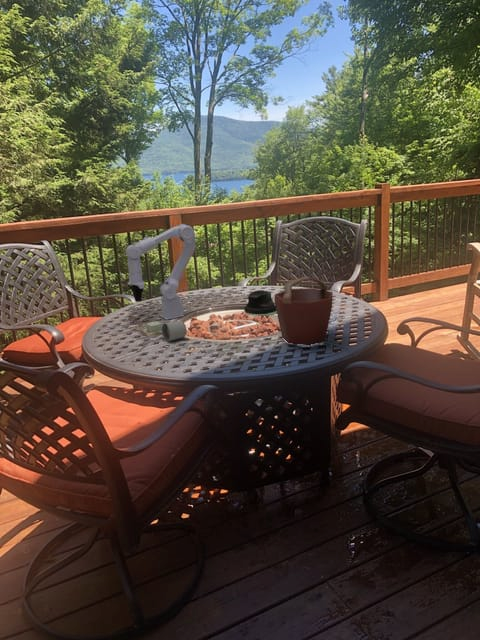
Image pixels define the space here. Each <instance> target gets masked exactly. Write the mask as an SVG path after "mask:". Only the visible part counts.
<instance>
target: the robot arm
mask: <svg viewBox="0 0 480 640" xmlns="http://www.w3.org/2000/svg"><path fill="white" fill-rule="evenodd" d="M172 238H174V239H180V240H181V242H182V245H183V248H182V249H181V252H180V254H179V256H178V258H177V260H176V262H175V264H174V266H173V268H172V270H171V272H170V274H169V276H168V277H167V278H166V280H165V282H163V283H162V284H161V285H160V288H159V292H160V293H161V295H162V296H161V297H160V298H161V312H162V314H160V315H159V316H160V318H162V319H164V320H171V319H172V320H173V319H176V318H181V317H185V315H184V304H183V299H182V297H180V296H177V294H178V289H179V283H180V280H181V279H182V276H183V275H184V272H185V270H186V269H187V267H188V264H189V262H190V260H191V258H192V256H193V254H194V253H195V250H196V232H195V231H194V229H193V227H192V226H191V225H187V224H185V223H181V224H178V225H176V226H173V227H171V228H169V229H167V230H166V231H164V232H162V233H160V234H158V235H157V236H154V237H150V236H147V237H146V236H145V237H143V239H142V240H139V241H138V242H136V241H135V242H134V243H133V244H129V246H127V247H126V249H125V254H126V256H127V268H128V269H127V270H128V277H129V279H128V282H127V285H131V286H129V289H130V291H131V292H132V295H133V297H134V301H135V302H141V301H142V295H143V290H144V289H145V284H144V281H143V272H142V262H141V258H140V257H141V256H142V255H145V254H147V253H149V252H150V251H152V250H153V251H154V250H155V248H156V246H157V245H159V244H161V243H163V242H165V241H167V240H170V239H172Z"/></svg>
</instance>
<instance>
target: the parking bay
mask: <svg viewBox="0 0 480 640" xmlns="http://www.w3.org/2000/svg"><path fill="white" fill-rule="evenodd" d="M137 330H138V332H140V333H141V334H142V335H144V336H145V337H147V338H151V337H155V336H159V335H162V331H158V332H153V333H148V332H147V330H144V329H143V328H142V327H137Z"/></svg>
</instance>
